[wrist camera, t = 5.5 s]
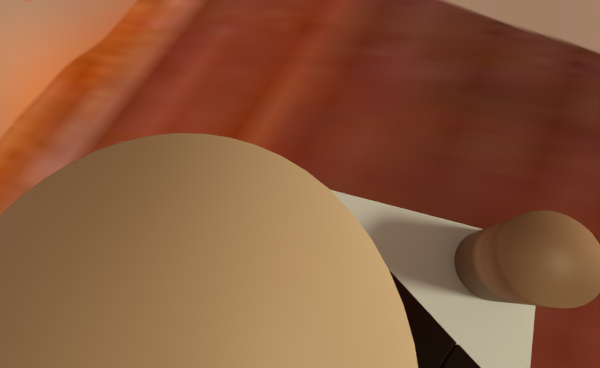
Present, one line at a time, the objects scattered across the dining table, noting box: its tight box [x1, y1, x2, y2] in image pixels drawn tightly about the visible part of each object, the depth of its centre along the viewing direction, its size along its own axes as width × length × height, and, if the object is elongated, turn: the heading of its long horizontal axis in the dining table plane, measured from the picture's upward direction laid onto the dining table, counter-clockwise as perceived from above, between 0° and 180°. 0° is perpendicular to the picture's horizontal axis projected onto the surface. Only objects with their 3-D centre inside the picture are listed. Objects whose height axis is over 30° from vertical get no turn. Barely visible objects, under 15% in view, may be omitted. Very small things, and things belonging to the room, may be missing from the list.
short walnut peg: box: [454, 210, 600, 308], centre depth 16 cm, size 4×4×6 cm
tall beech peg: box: [0, 133, 418, 368], centre depth 8 cm, size 4×4×13 cm
